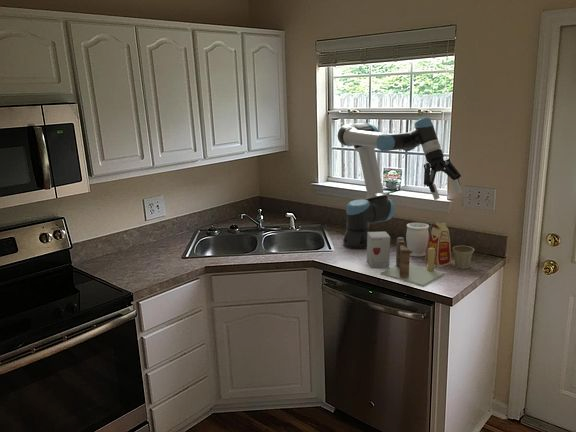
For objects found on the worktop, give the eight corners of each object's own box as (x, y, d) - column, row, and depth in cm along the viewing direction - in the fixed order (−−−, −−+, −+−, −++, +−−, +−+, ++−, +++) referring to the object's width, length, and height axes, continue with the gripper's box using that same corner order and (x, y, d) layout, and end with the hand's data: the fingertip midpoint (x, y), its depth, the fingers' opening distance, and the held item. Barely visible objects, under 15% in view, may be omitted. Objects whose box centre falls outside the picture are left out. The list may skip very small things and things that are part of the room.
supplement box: (370, 268, 219) (370, 237, 215) (366, 261, 227) (366, 231, 224) (390, 267, 219) (390, 236, 215) (385, 261, 228) (386, 230, 224)
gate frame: (380, 274, 211) (380, 244, 208) (402, 263, 224) (403, 234, 220) (423, 286, 197) (424, 254, 193) (444, 274, 209) (446, 244, 206)
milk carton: (438, 267, 218) (440, 225, 213) (423, 261, 226) (425, 220, 221) (452, 263, 222) (455, 221, 217) (437, 257, 230) (439, 217, 225)
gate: (396, 265, 217) (397, 240, 214) (407, 265, 216) (408, 240, 213) (400, 277, 204) (401, 250, 201) (411, 277, 203) (413, 250, 200)
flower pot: (446, 266, 219) (448, 248, 216) (459, 261, 224) (460, 244, 222) (465, 272, 211) (466, 253, 209) (477, 267, 217) (478, 248, 215)
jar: (425, 251, 240) (427, 222, 236) (429, 257, 230) (431, 228, 226) (404, 250, 241) (405, 222, 237) (407, 257, 231) (408, 228, 227)
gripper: (417, 152, 205) (433, 199, 202) (458, 144, 216) (474, 189, 213) (406, 158, 212) (421, 203, 209) (447, 151, 223) (462, 193, 220)
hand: (448, 196), depth 211 cm, fingers open, 13 cm apart
